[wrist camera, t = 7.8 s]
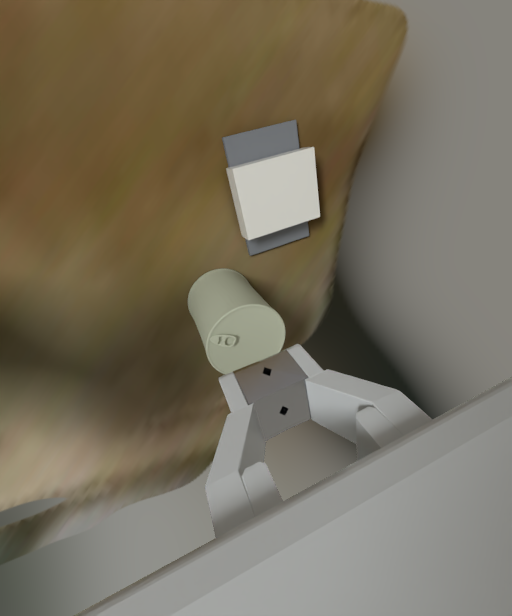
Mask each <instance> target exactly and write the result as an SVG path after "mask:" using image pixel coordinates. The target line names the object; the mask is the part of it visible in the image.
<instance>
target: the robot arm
mask: <svg viewBox="0 0 512 616" xmlns="http://www.w3.org/2000/svg"><path fill="white" fill-rule="evenodd" d="M218 378H219V382H220V385H221V387H222V390H223V393H224V395H225V398H226V400H227V403H228V406H229V408H230V411H231V413H230V414H228V415H227V418H226V421H225V424H224V428H223V431H222V434H221V437H220V440H219V444H218V447H217V450H216V453H215V456H214V460H213V463H212V466H211V469H210V472H209V476H208V479H207V482H206V485H205V490H206V494H207V499H208V504H209V509H210V513H211V518H212V523H213V527H214V532H215V536H216V538H215V539H214V540H212V541H210V542H208V543H206V544H204V545H203V546H201V547H199V548H197V549H195V550H194V551H192V552H190V553H188V554H186V555H184V556H182V557H180V558H179V559H177V560H175V561H173V562H171V563H170V564H168V565H166V566H164V567H162V568H160V569H159V570H157V571H155V572H153V573H151V574H150V575H147V576H146V577H144V578H142V579H140V580H138V581H137V582H135V583H133V584H131V585H129V586H127V587H126V588H124V589H122V590H120V591H119V592H116V593H115V594H113V595H111V596H109V597H107V598H105V599H103V600H102V601H100V602H98V603H96V604H94V605H92V606H91V607H89V608H87V609H85V610H83V611H82V612H80V613H78V614H76V615H74V616H512V377H510V378H508V379H507V380H505V381H503V382H501V383H499V384H497V385H496V386H494V387H492V388H490V389H488V390H487V391H485V392H483V393H481V394H479V395H477V396H475V397H474V398H472V399H470V400H468V401H466V402H464V403H463V404H461V405H459V406H457V407H455V408H453V409H452V410H450V411H448V412H446V413H444V414H442V415H441V416H439V417H437V418H435V419H433V420H432V419H431V418H430V417H429V416H428V415H427V414H425V413H424V412H423V411H422V410H421V409H420V408H419V407H417V406H416V405H415V404H414V403H413V402H412V401H411V400H409V399H408V398H407V397H406V396H405V395H404V394H402V393H401V392H400V391H399V390H396V389H393V388H389V387H386V386H383V385H379V384H376V383H373V382H369V381H366V380H362V379H359V378H356V377H352V376H349V375H346V374H342V373H339V372H336V371H332V370H329V369H327V370H325V371H324V370H323V369H322V368H321V367H320V366H319V365H318V364H317V363H316V362H315V361H314V359H313V358H312V357H311V356H310V355H309V354H308V353H307V352H306V351H305V350H304V349H303V348H302V346H301V345H299V344H296V345H294V346H292V347H289V348H287V349H285V350H283V351H281V352H278V353H276V354H274V355H272V356H269V357H267V358H265V359H262V360H260V361H258V362H255V363H253V364H250V365H248V366H245V367H243V368H240V369H238V370H235V371H233V372H231V373H228V374H226V375H223V376H221V377H218ZM309 419H312V420H313V421H315V422H317V423H319V424H320V425H322V426H324V427H326V428H328V429H330V430H331V431H333V432H335V433H337V434H339V435H341V436H343V437H344V438H346V439H348V440H350V441H352V442H354V443H356V444H357V461H356V462H355V463H353V464H351V465H349V466H347V467H345V468H344V469H342V470H340V471H338V472H336V473H334V474H333V475H331V476H329V477H327V478H326V479H324V480H322V481H320V482H318V483H316V484H314V485H312V486H311V487H309V488H307V489H305V490H303V491H301V492H300V493H298V494H296V495H294V496H292V497H290V498H289V499H287V500H285V501H283V500H282V498H281V496H280V494H279V491H278V489H277V487H276V485H275V483H274V480H273V478H272V476H271V474H270V471H269V469H268V467H267V465H266V463H264V454H265V445H266V442H265V441H266V440H268V439H270V438H272V437H274V436H276V435H278V434H280V433H281V432H284V431H285V430H287V429H289V428H292V427H294V426H296V425H298V424H301V423H303V422H305V421H307V420H309Z"/></svg>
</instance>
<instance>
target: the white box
mask: <svg viewBox="0 0 512 616" xmlns="http://www.w3.org/2000/svg"><path fill="white" fill-rule="evenodd" d="M226 171H227V175H228V179H229V183H230V187H231V192H232V196H233V200H234V204H235V208H236V213H237V217H238V221H239V225H240V230H241V234H242V236H243V237H244V238H246V239H247V240H251V239H254V238H258V237H261V236H264V235H267V234H270V233H273V232H276V231H279V230H282V229H285V228H288V227H291V226H294V225H297V224H300V223H303V222H306V221H309V220H312V219H315V218H318V217H320V208H319V197H318V186H317V175H316V164H315V153H314V147H305V148H300V149H296V150H292V151H289V152H285V153H281V154H278V155H274V156H270V157H266V158H263V159H259V160H255V161H252V162H248V163H244V164H240V165H237V166H233V167H229V168H226Z"/></svg>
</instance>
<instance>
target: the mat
mask: <svg viewBox="0 0 512 616" xmlns="http://www.w3.org/2000/svg"><path fill="white" fill-rule="evenodd" d="M222 140H223V145H224V149H225V153H226V158H227V162H228V166H229V167H233V166H237V165H240V164H244V163H248V162H252V161H255V160H259V159H263V158H266V157H270V156H274V155H278V154H281V153H285V152H289V151H292V150H296V149H299V141H298V133H297V124H296V120H292V121H288V122H284V123H280V124H276V125H272V126H268V127H264V128H260V129H256V130H252V131H248V132H243V133H239V134H235V135H231V136H227V137H223V138H222ZM307 236H309V229H308V221H306V222H303V223H300V224H297V225H294V226H291V227H288V228H285V229H282V230H279V231H276V232H273V233H270V234H267V235H264V236H261V237H258V238H254V239H251V240H247V239H246V238H245V239H246V244H247V248H248V252H249V255H250V256H251V255H254V254H257V253H260V252H263V251H266V250H269V249H272V248H275V247H278V246H281V245H283V244H286V243H289V242H292V241H295V240H298V239H301V238H304V237H307Z"/></svg>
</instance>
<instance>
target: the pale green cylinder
mask: <svg viewBox="0 0 512 616" xmlns="http://www.w3.org/2000/svg"><path fill="white" fill-rule="evenodd" d="M188 308H189V312H190V314H191V316H192V317H193V319H194V321H195V323H196V326H197V328H198V331H199V334H200V336H201V339H202V342H203V344H204V347H205V350H206V354H207V358H208V360H209V362H210V363H211V365H212V366H213V367H214V368H215V369H216V370H217V371H219V372H221V373H223V374H225V375H226V374H228V373H231V372H233V371H235V370H238V369H240V368H243V367H245V366H248V365H250V364H253V363H255V362H258V361H260V360H262V359H265V358H267V357H269V356H272V355H274V354H276V353H278V352H280V351H281V349H282V347H283V344H284V341H285V334H286V332H285V325H284V322H283V320H282V318H281V316H280V315H279V314H278V313H277V312H276V311H275V310H274V309H272V307H271V306H270V305H269V304H268V303H267V302H266V301H265V300H264V299H263V298H262V297H261V296H260V295H259V294H258V293H257V292H256V291H255V290H254V289H253V288H252V287H251V285H250V284H249V282H248V281H247V279H246V278H245V277H244V276H243V275H242V274H240V273H238V272H236V271H234V270H231V269H216V270H212V271H209V272H207V273H205V274H204V275H202V276H201V277H200V278H199V279H198V280H197V281H196V282H195V283H194V284H193V286H192V288H191V290H190V292H189V296H188Z"/></svg>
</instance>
